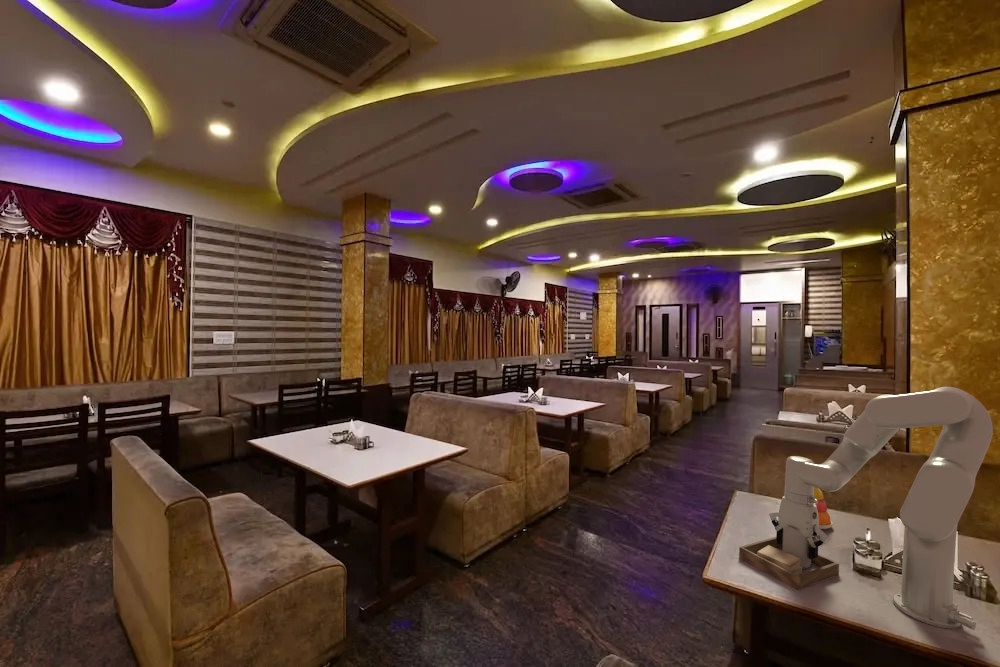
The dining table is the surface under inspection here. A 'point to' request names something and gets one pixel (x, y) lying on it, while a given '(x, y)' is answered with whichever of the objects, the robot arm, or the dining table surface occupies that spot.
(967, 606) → the dining table surface
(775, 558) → the offcut stack
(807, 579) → the wooden frame
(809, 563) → the can
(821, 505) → the stacking toy
